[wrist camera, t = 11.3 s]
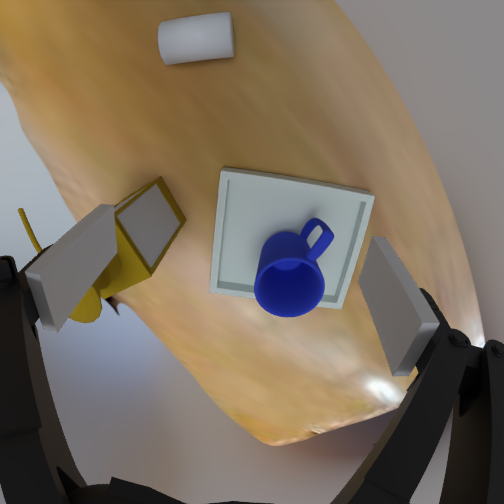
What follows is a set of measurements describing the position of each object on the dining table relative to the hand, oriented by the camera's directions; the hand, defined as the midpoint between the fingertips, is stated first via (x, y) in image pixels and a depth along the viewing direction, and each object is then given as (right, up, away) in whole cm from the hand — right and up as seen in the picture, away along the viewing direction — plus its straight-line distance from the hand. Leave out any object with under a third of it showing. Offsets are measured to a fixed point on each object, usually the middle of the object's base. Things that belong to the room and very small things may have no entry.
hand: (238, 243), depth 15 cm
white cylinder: (-2, +25, +15) cm, 29 cm away
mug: (+6, +1, +29) cm, 30 cm away
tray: (+6, +1, +29) cm, 30 cm away
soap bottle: (-15, +8, +27) cm, 32 cm away
